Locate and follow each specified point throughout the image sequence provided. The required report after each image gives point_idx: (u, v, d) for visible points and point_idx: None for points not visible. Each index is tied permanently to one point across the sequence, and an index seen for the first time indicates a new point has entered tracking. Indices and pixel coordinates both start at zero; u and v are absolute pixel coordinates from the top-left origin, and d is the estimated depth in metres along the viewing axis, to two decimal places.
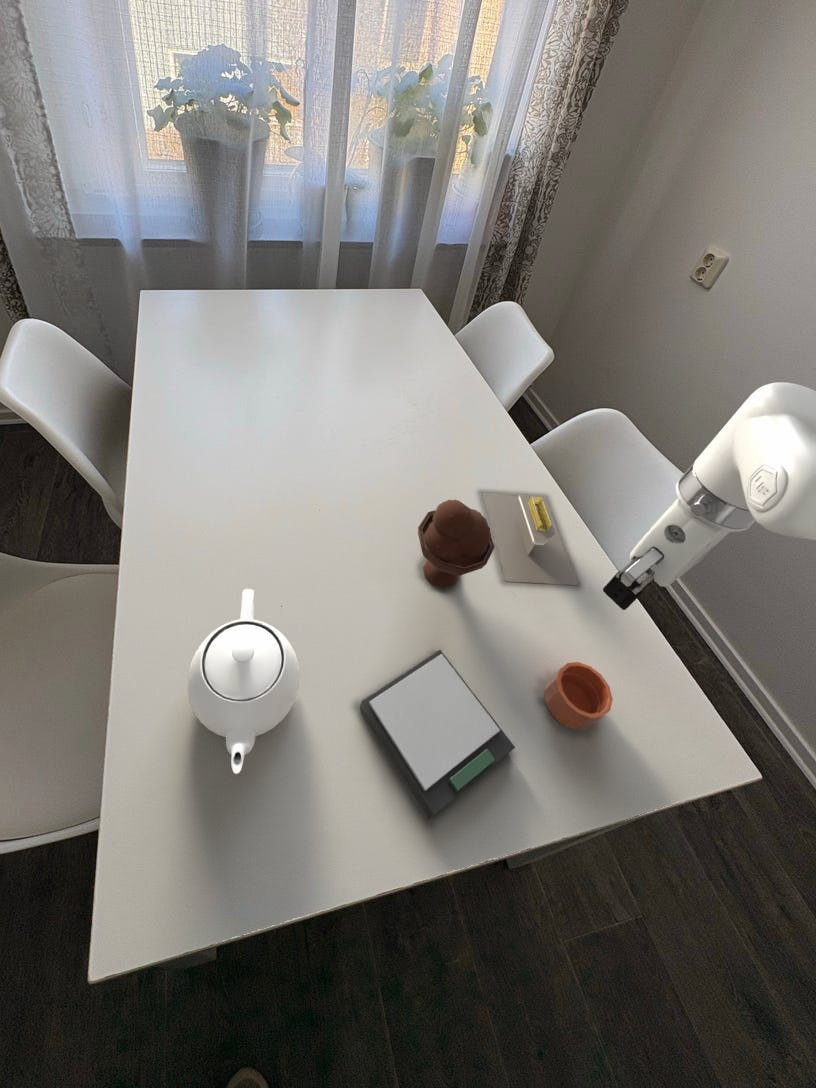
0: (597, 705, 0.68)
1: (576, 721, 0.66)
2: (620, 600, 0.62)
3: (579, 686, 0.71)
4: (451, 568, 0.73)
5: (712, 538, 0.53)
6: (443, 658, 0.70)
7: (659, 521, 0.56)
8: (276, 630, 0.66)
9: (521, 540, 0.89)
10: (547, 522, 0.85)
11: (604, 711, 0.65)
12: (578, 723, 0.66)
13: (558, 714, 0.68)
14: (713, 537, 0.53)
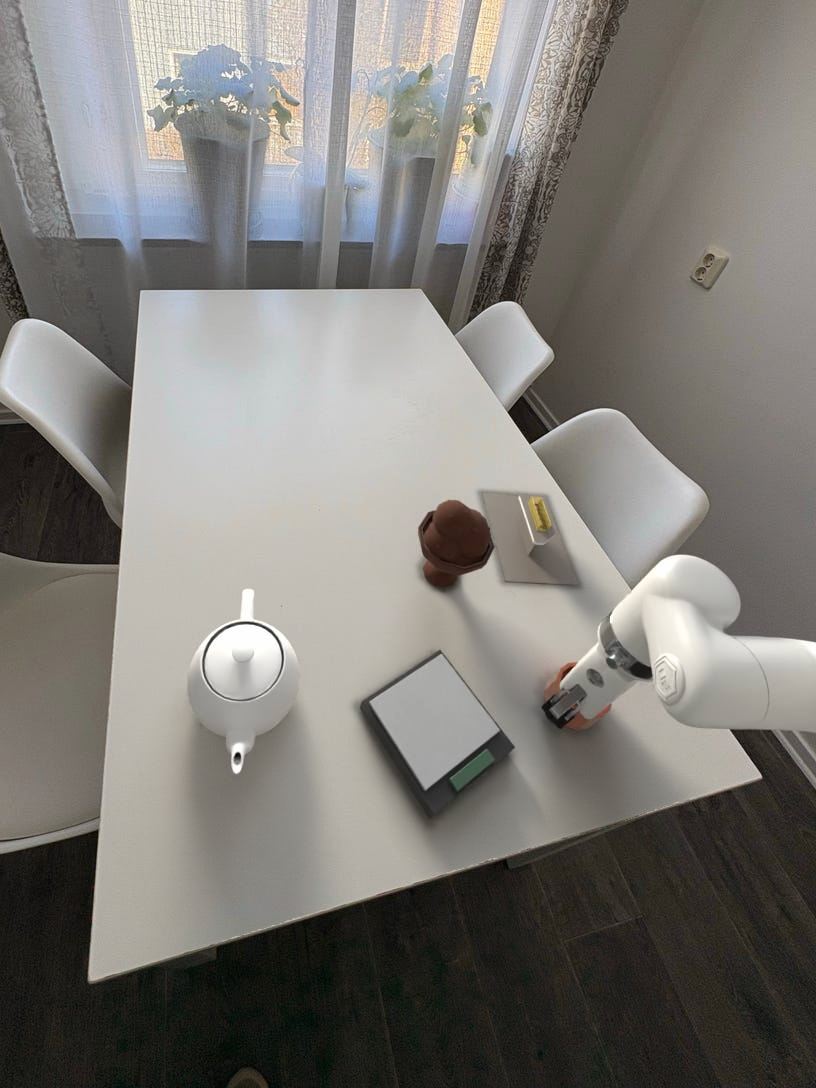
0: None
1: (576, 721, 0.66)
2: (555, 722, 0.66)
3: None
4: (451, 568, 0.73)
5: (627, 686, 0.56)
6: (443, 658, 0.70)
7: (582, 662, 0.60)
8: (276, 630, 0.66)
9: (521, 540, 0.89)
10: (547, 522, 0.85)
11: (604, 711, 0.65)
12: (578, 723, 0.66)
13: None
14: (628, 685, 0.56)
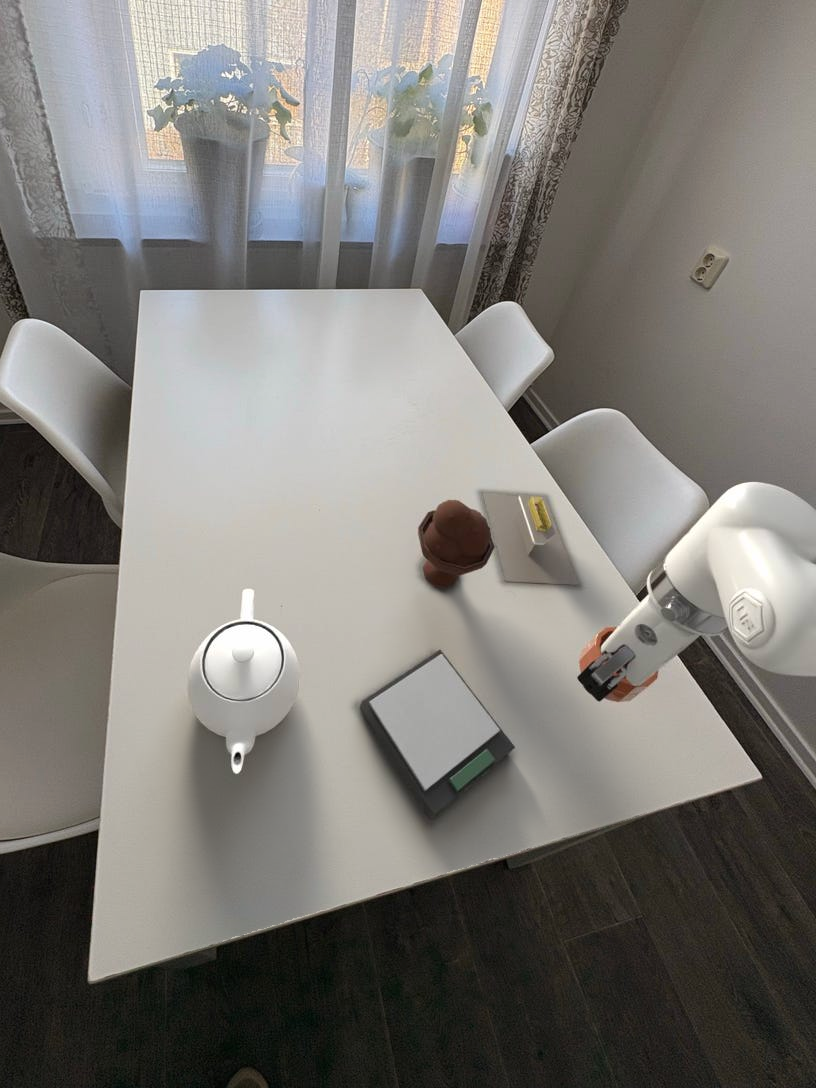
0: None
1: (618, 691, 0.58)
2: (595, 693, 0.58)
3: None
4: (451, 568, 0.73)
5: (685, 642, 0.49)
6: (443, 658, 0.70)
7: (629, 618, 0.52)
8: (276, 630, 0.66)
9: (521, 540, 0.89)
10: (547, 522, 0.85)
11: (650, 679, 0.57)
12: (620, 694, 0.59)
13: None
14: (686, 641, 0.49)
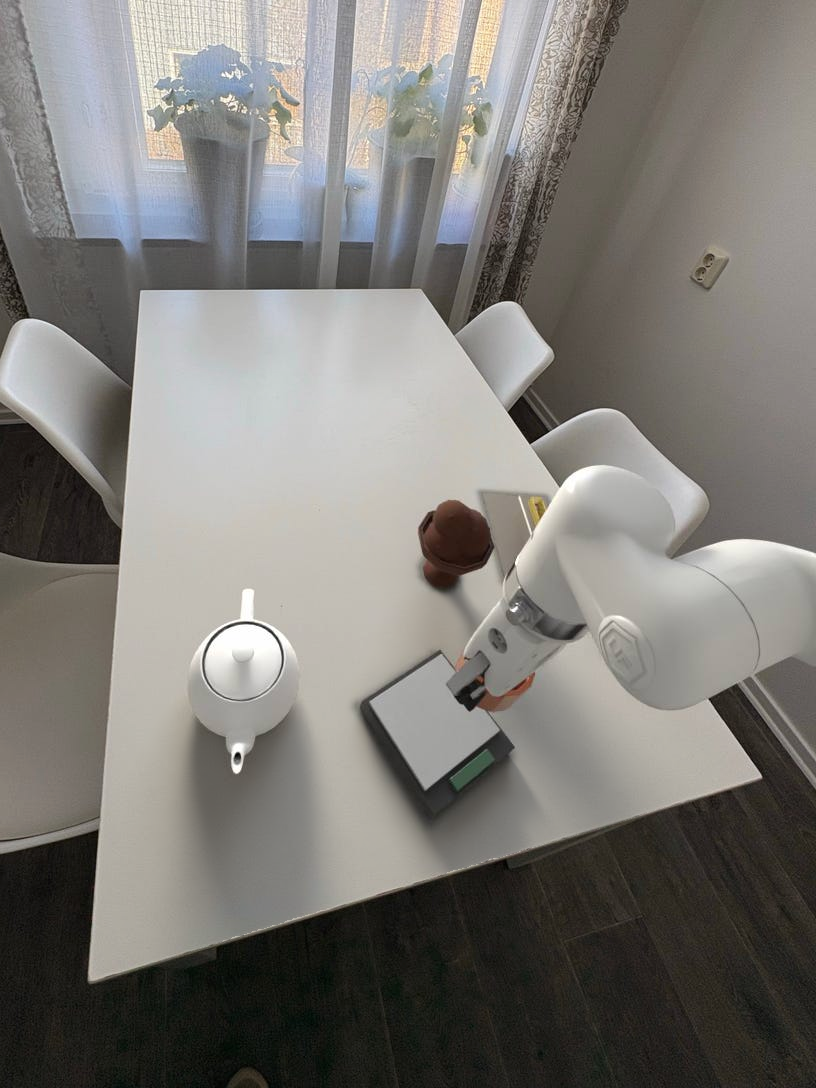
0: None
1: (489, 700, 0.52)
2: (462, 702, 0.52)
3: None
4: (451, 568, 0.73)
5: (536, 650, 0.42)
6: (443, 658, 0.70)
7: (484, 621, 0.46)
8: (276, 630, 0.66)
9: (521, 540, 0.89)
10: None
11: (523, 688, 0.51)
12: (491, 703, 0.52)
13: None
14: (537, 649, 0.42)
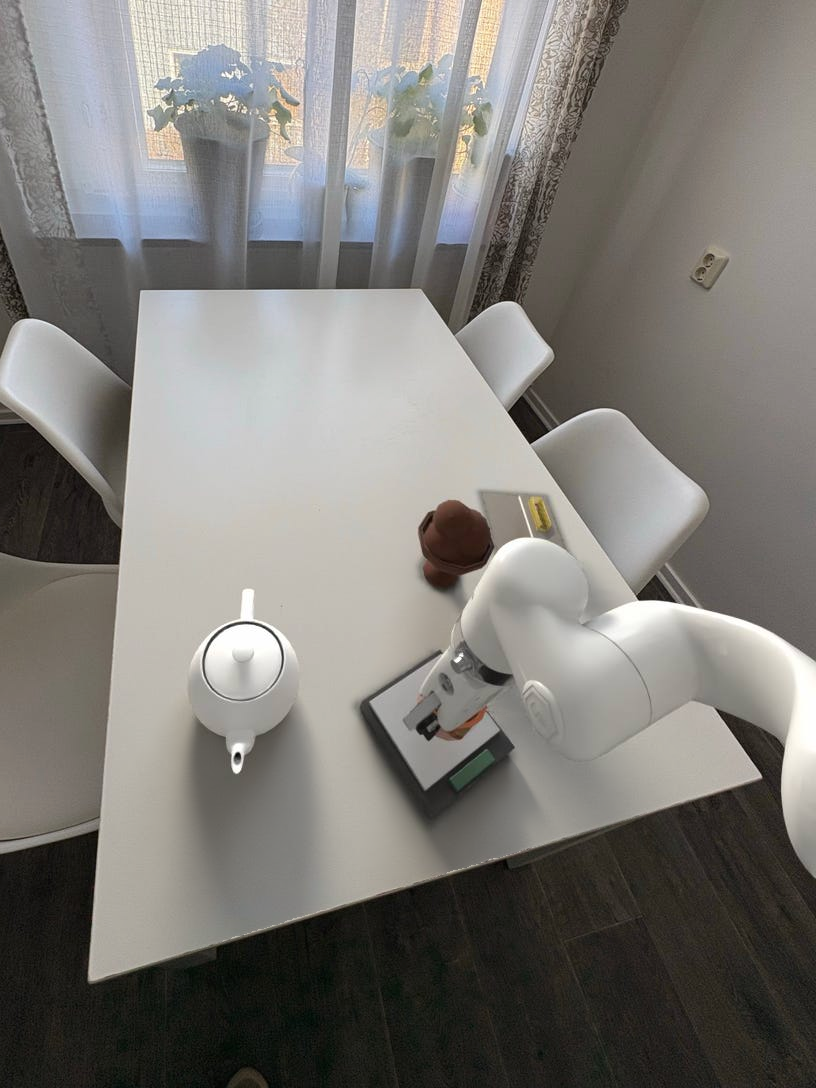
0: None
1: (445, 731, 0.58)
2: (421, 733, 0.58)
3: None
4: (451, 568, 0.73)
5: (478, 694, 0.48)
6: None
7: (435, 665, 0.51)
8: (276, 630, 0.66)
9: None
10: (547, 522, 0.85)
11: (475, 720, 0.57)
12: (447, 734, 0.58)
13: None
14: (479, 693, 0.48)
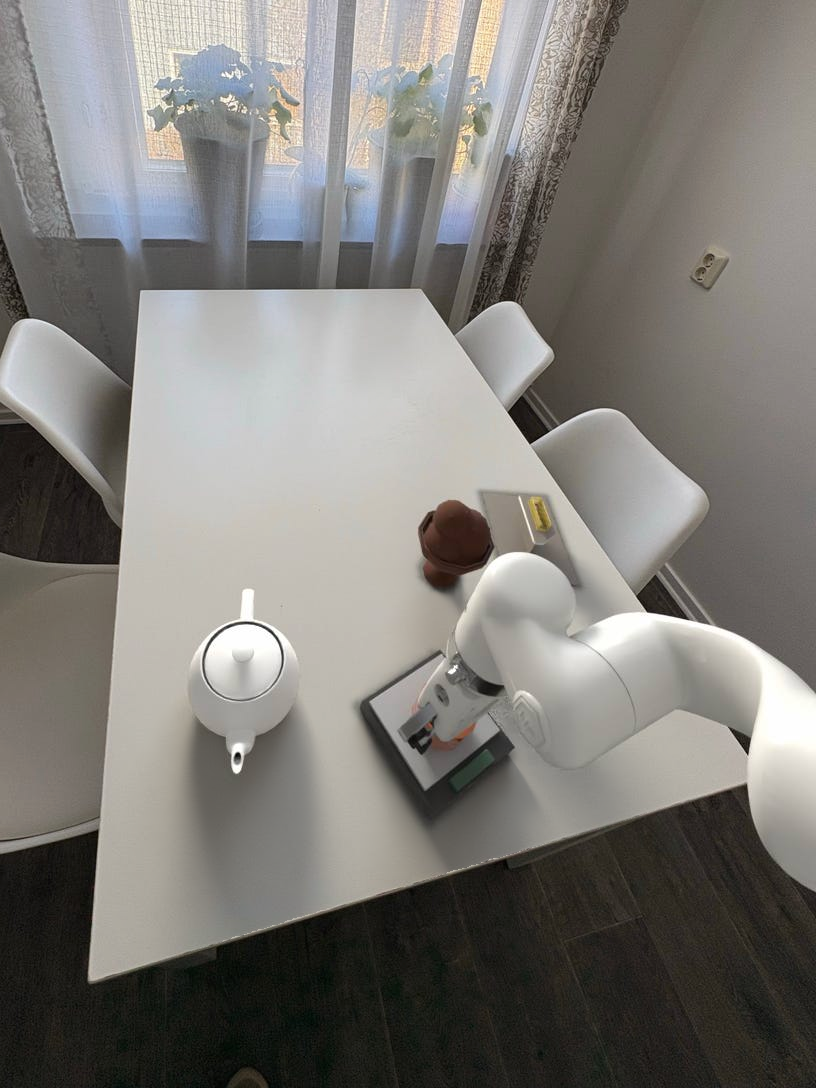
0: None
1: (438, 742, 0.60)
2: (414, 747, 0.58)
3: None
4: (451, 568, 0.73)
5: (473, 705, 0.49)
6: (443, 658, 0.70)
7: (431, 676, 0.52)
8: (276, 630, 0.66)
9: (521, 540, 0.89)
10: (547, 522, 0.85)
11: (466, 731, 0.59)
12: (440, 744, 0.60)
13: None
14: (474, 704, 0.49)
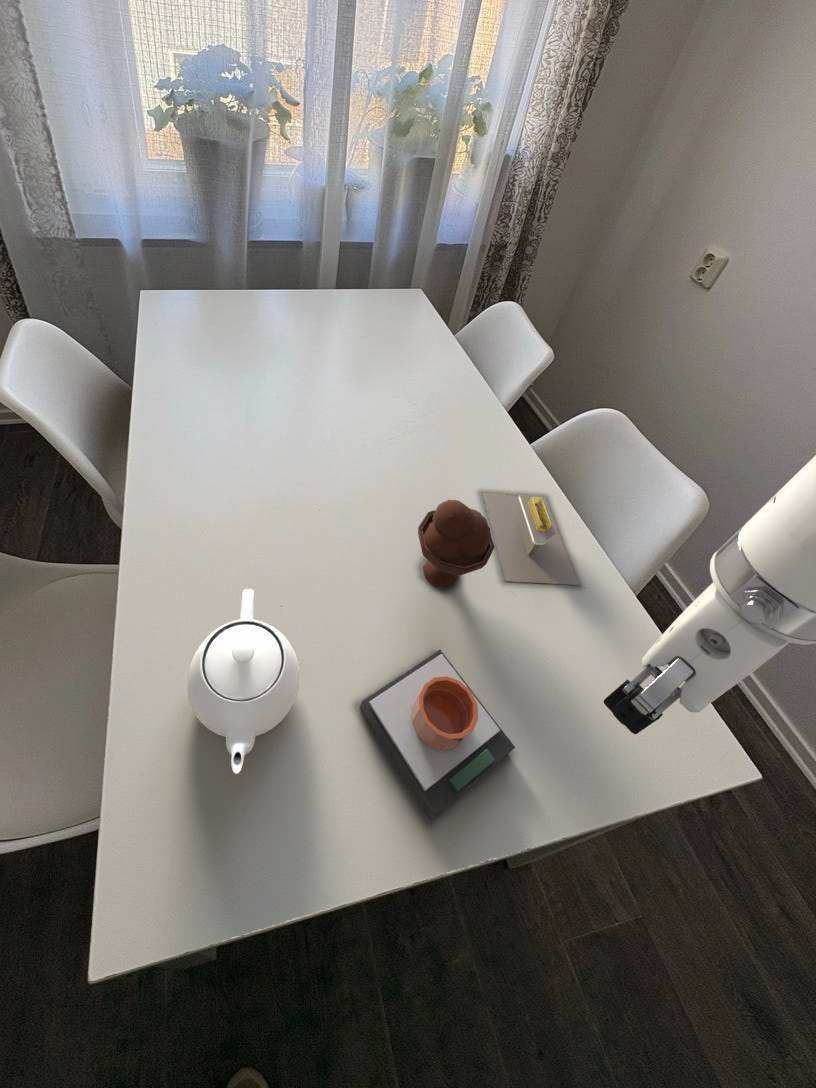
0: (465, 724, 0.62)
1: (438, 742, 0.60)
2: (630, 723, 0.43)
3: (452, 702, 0.65)
4: (451, 568, 0.73)
5: (773, 654, 0.34)
6: (443, 658, 0.70)
7: (687, 620, 0.37)
8: (276, 630, 0.66)
9: (521, 540, 0.89)
10: (547, 522, 0.85)
11: (466, 731, 0.59)
12: (440, 744, 0.60)
13: (421, 734, 0.61)
14: (775, 652, 0.34)
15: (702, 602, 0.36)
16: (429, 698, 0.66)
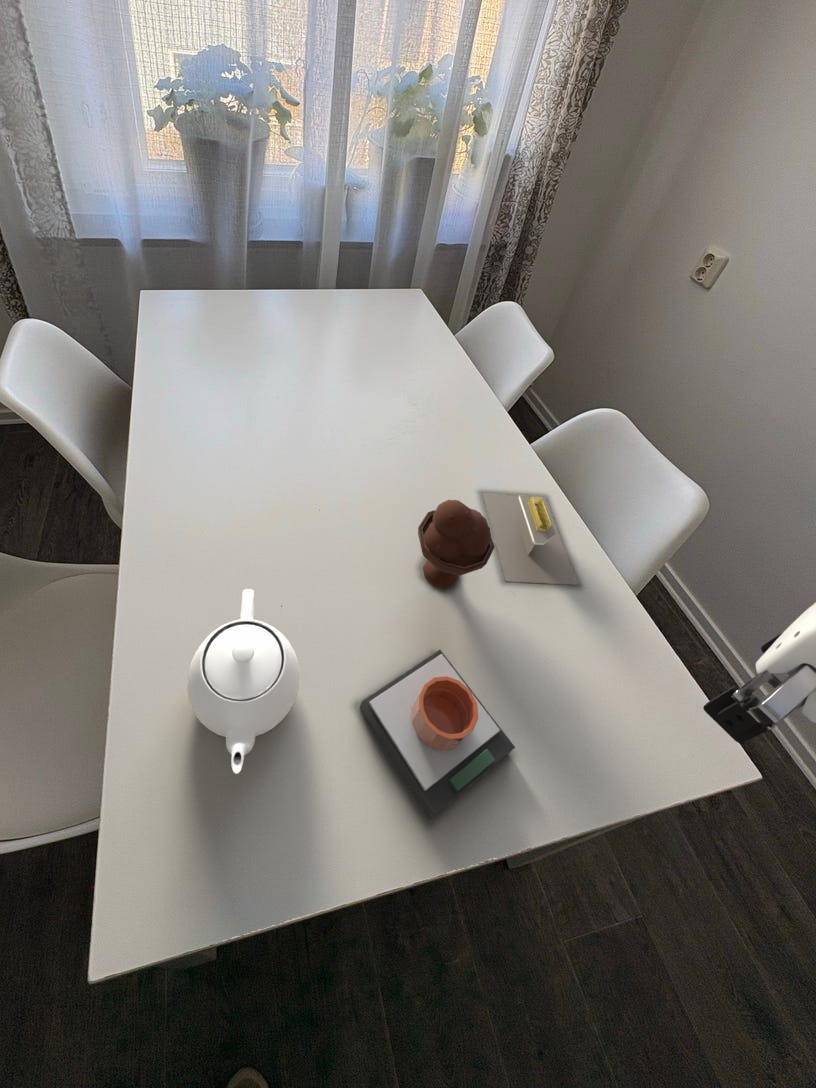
0: (465, 724, 0.62)
1: (438, 742, 0.60)
2: (737, 732, 0.40)
3: (452, 702, 0.65)
4: (451, 568, 0.73)
5: None
6: (443, 658, 0.70)
7: None
8: (276, 630, 0.66)
9: (521, 540, 0.89)
10: (547, 522, 0.85)
11: (466, 731, 0.59)
12: (440, 744, 0.60)
13: (421, 734, 0.61)
14: None
15: None
16: (429, 698, 0.66)
